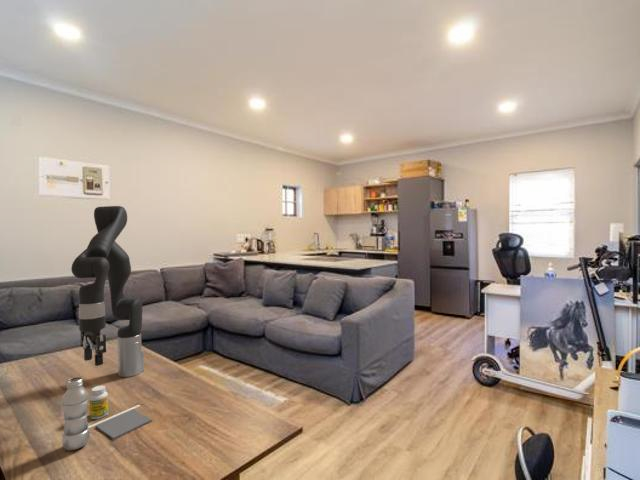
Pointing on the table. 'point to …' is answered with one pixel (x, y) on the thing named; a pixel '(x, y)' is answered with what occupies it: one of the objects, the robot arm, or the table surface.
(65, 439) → the plastic bottle
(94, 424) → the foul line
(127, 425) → the mat
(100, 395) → the supplement bottle
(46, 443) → the table surface
